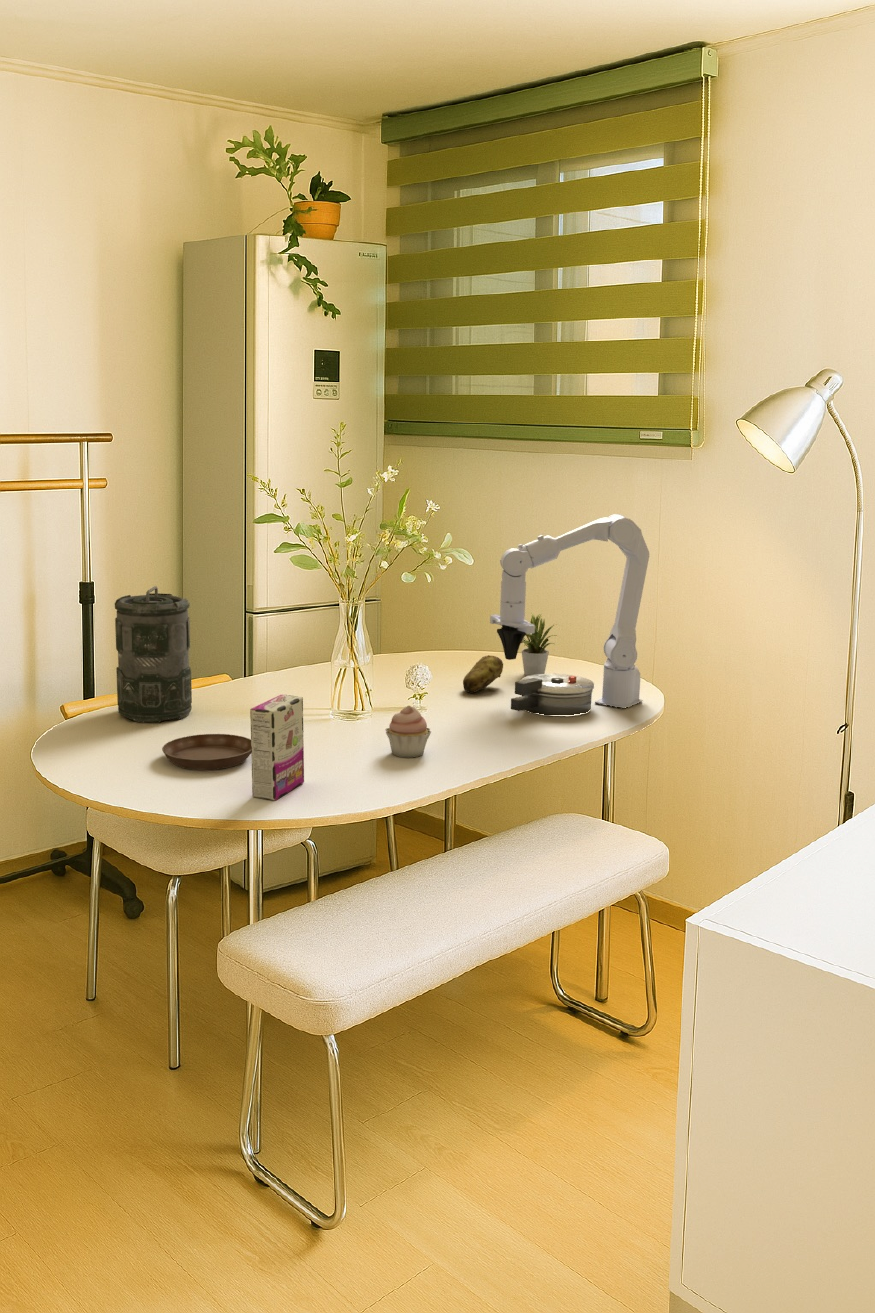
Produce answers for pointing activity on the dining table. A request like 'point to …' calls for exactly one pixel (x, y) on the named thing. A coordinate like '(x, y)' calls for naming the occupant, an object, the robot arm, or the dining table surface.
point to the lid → (553, 684)
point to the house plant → (536, 649)
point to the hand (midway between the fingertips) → (510, 658)
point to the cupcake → (408, 733)
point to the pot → (553, 703)
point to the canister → (153, 657)
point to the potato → (483, 673)
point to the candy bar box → (277, 747)
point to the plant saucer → (208, 751)
